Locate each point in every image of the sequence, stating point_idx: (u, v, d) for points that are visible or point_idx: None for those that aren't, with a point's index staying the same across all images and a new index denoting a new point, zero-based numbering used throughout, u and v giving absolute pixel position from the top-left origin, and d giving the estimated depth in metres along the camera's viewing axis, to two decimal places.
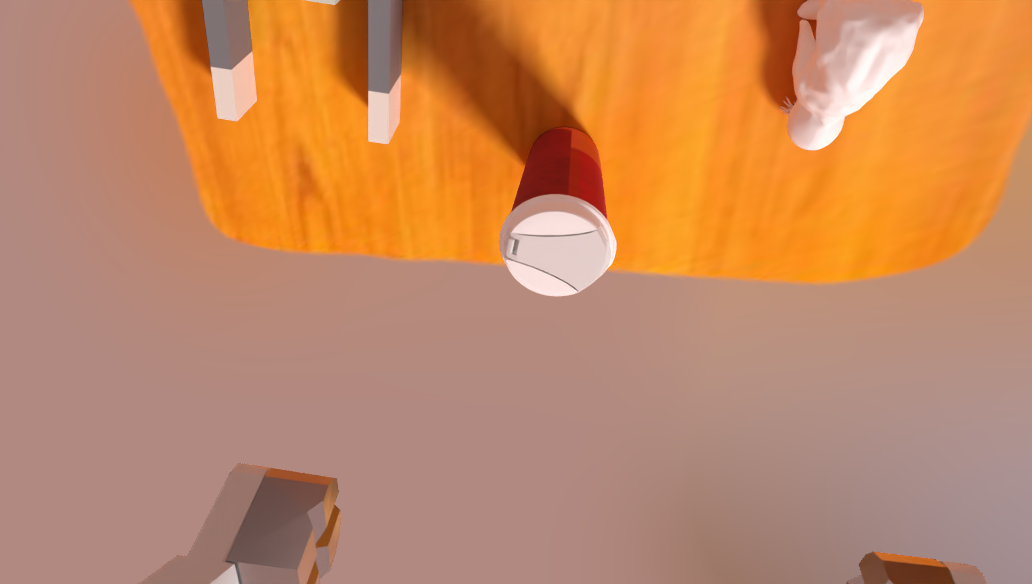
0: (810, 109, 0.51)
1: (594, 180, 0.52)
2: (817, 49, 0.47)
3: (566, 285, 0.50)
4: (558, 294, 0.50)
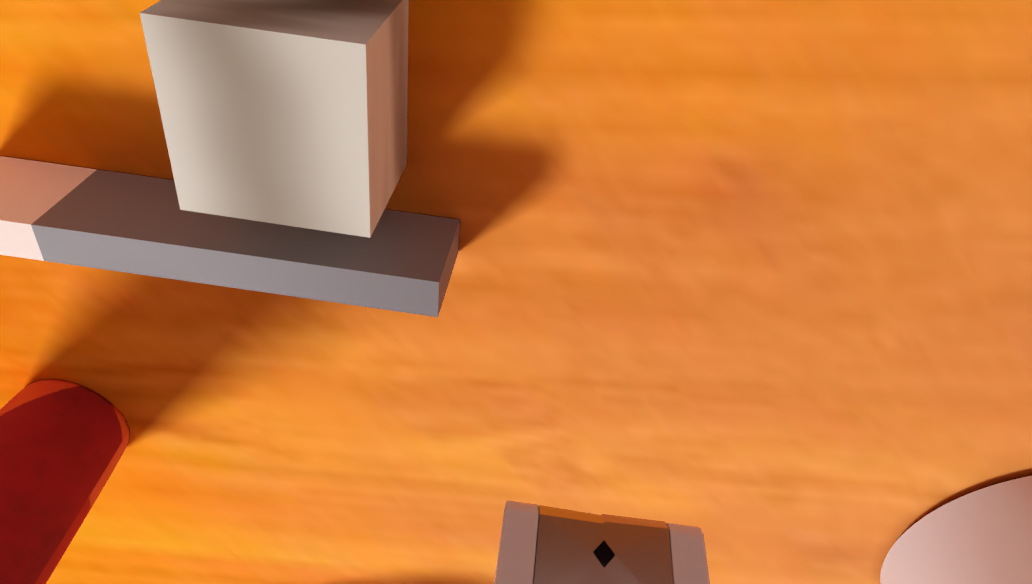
0: None
1: None
2: None
3: None
4: None
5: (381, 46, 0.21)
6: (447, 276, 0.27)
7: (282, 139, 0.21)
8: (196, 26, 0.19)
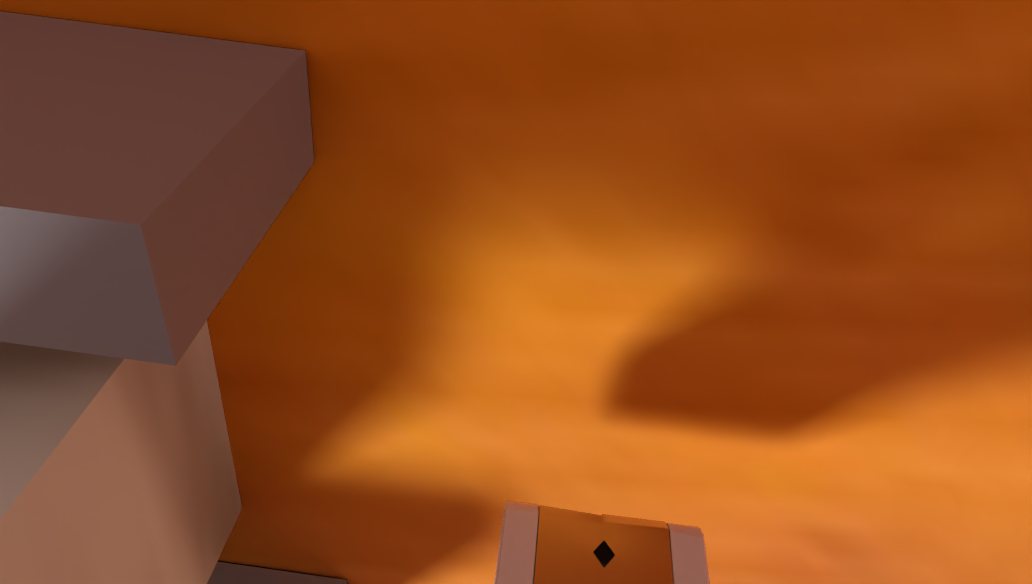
0: None
1: None
2: None
3: None
4: None
5: (83, 461, 0.09)
6: None
7: None
8: None
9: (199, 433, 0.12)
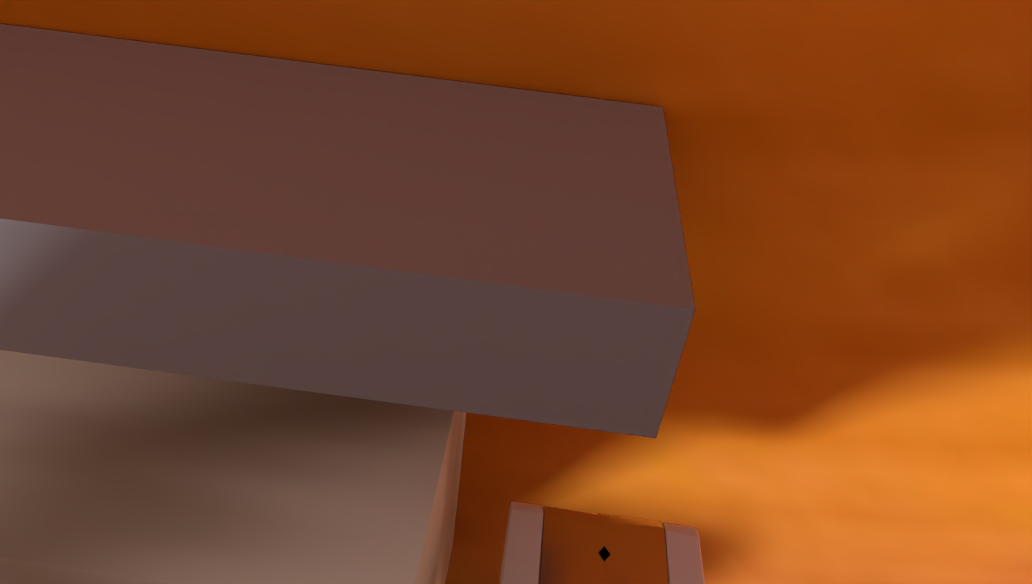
0: None
1: None
2: None
3: None
4: None
5: (433, 521, 0.09)
6: None
7: None
8: None
9: (455, 477, 0.12)
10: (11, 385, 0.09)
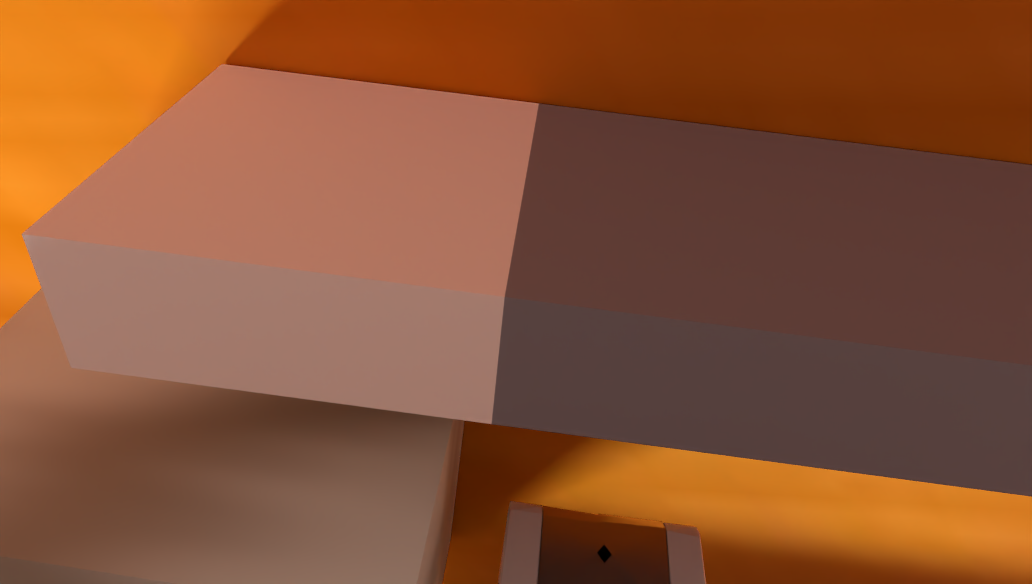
0: None
1: None
2: None
3: None
4: None
5: (434, 521, 0.09)
6: None
7: None
8: None
9: (454, 476, 0.12)
10: (6, 381, 0.09)
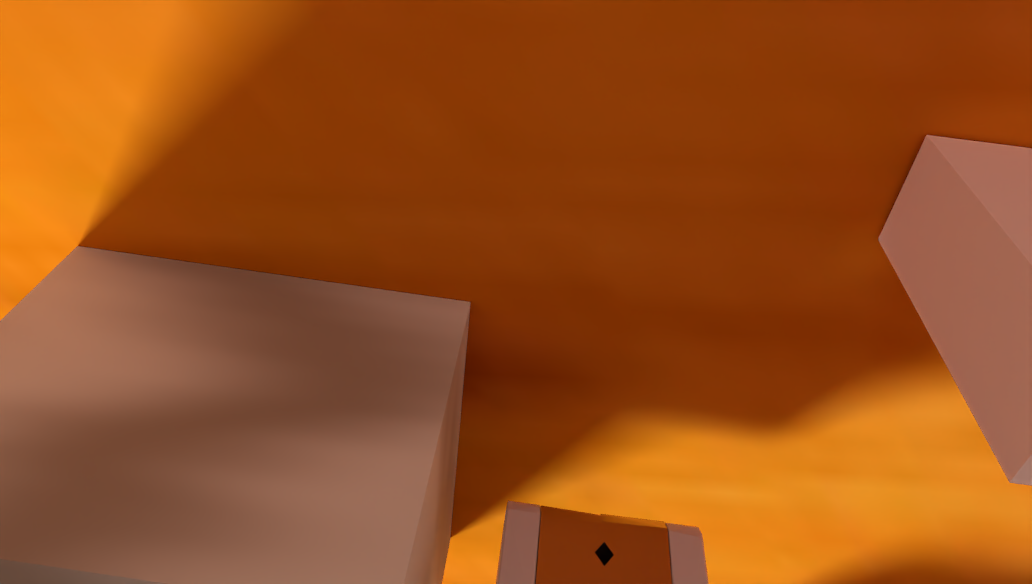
0: None
1: None
2: None
3: None
4: None
5: (425, 516, 0.09)
6: None
7: None
8: None
9: (450, 473, 0.12)
10: None
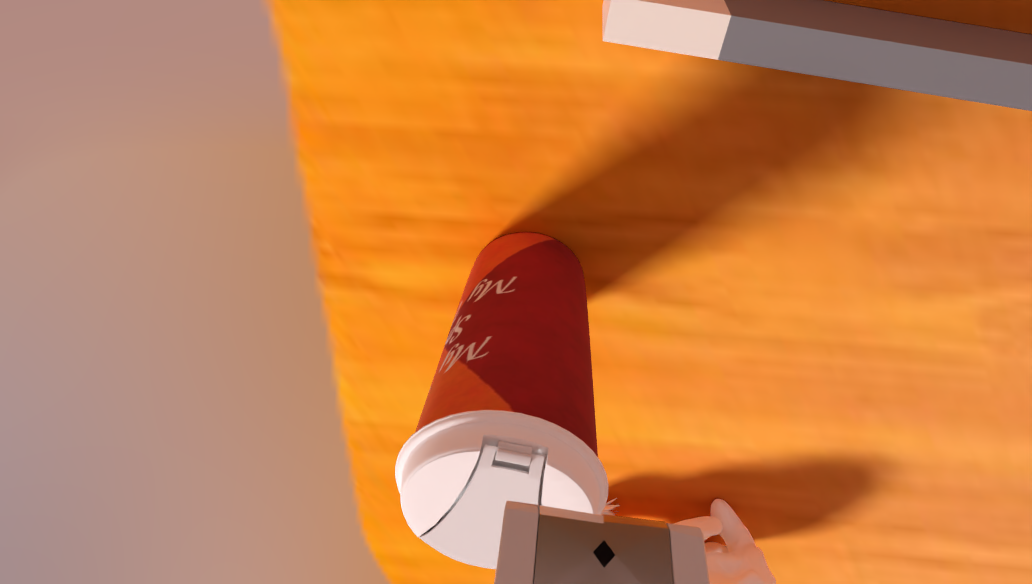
0: None
1: None
2: None
3: (430, 523, 0.26)
4: (406, 513, 0.26)
5: None
6: None
7: None
8: None
9: None
10: None
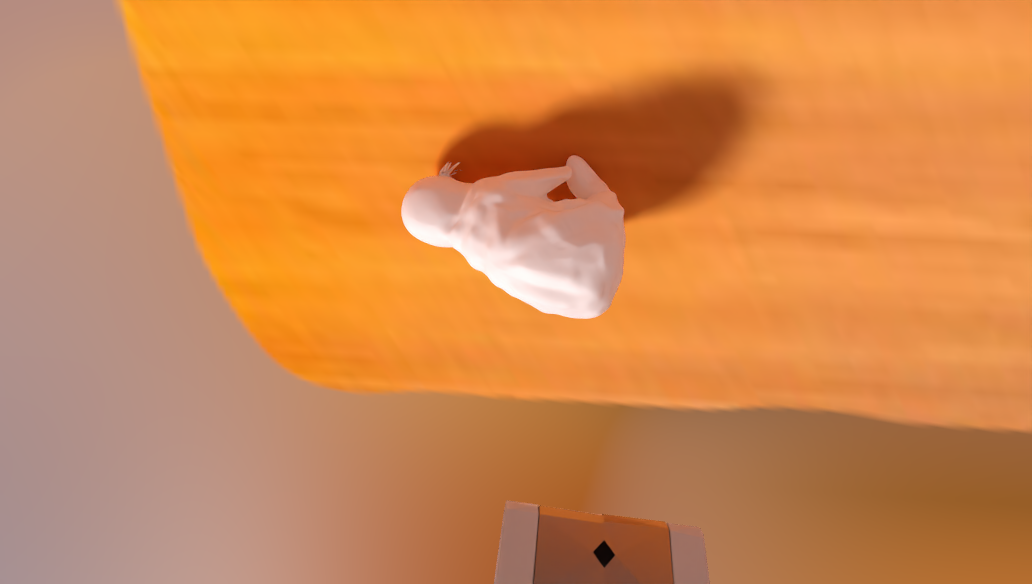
0: (464, 212, 0.37)
1: None
2: (557, 216, 0.35)
3: None
4: None
5: None
6: None
7: None
8: None
9: None
10: None
